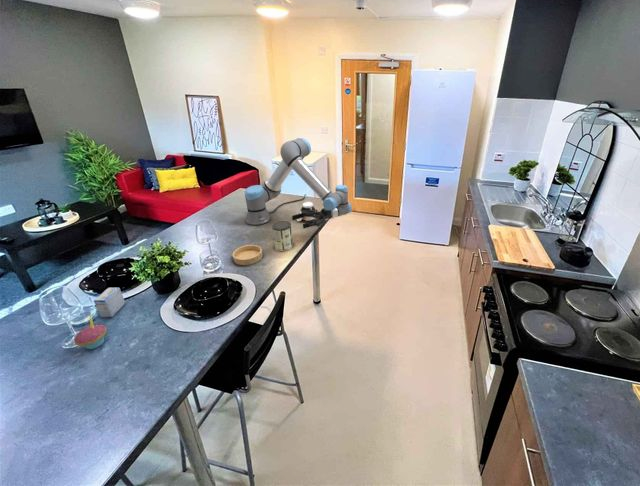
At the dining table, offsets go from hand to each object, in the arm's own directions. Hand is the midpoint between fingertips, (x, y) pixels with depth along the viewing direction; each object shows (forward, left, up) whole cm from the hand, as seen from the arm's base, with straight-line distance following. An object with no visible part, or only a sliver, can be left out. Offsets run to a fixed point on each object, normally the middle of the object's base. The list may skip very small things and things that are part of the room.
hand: (297, 222), depth 166 cm
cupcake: (+88, -34, -13) cm, 95 cm away
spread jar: (-27, -10, -13) cm, 32 cm away
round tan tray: (+24, -18, -13) cm, 32 cm away
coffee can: (+8, -6, -13) cm, 16 cm away
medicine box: (+74, -45, -13) cm, 87 cm away
